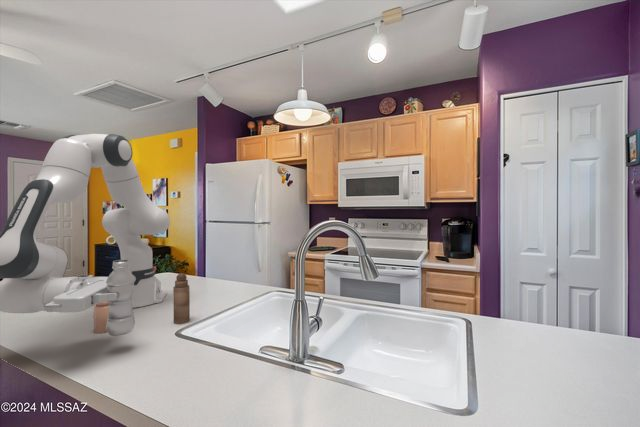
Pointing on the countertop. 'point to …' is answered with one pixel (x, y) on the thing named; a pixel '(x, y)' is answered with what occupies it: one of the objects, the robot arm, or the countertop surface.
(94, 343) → the countertop surface
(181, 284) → the pepper mill
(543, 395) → the countertop surface
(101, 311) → the salt jar
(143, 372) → the countertop surface
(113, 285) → the plastic bottle
